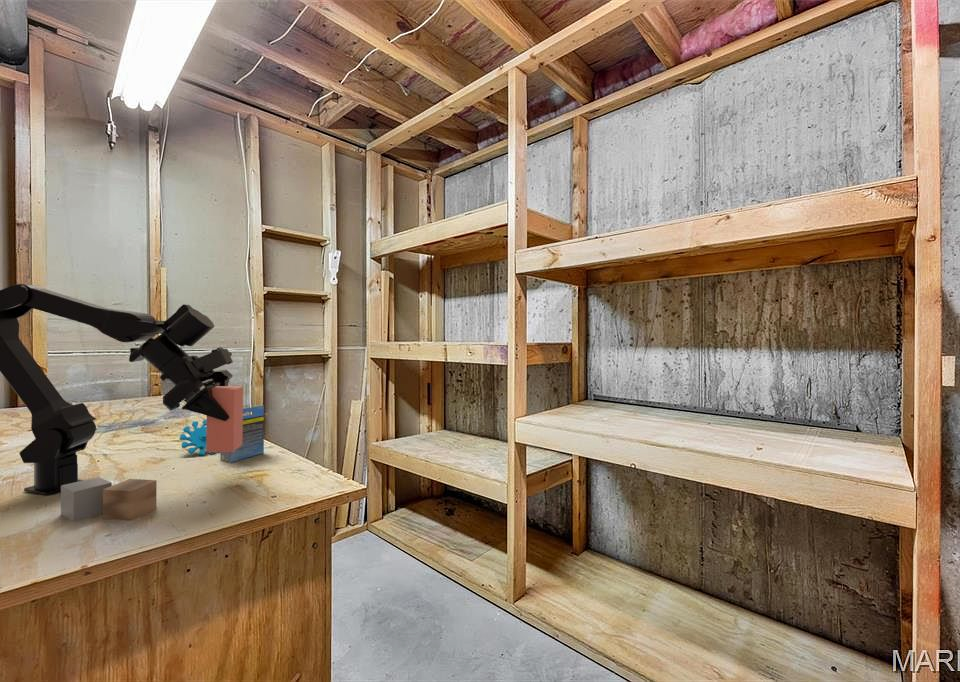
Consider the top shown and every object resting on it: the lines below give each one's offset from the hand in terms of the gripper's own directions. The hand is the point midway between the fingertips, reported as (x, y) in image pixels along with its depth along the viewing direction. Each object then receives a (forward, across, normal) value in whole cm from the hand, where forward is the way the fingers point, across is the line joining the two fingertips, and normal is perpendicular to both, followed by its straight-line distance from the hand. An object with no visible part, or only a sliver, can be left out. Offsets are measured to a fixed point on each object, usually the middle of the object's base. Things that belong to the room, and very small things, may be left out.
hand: (232, 416), depth 88 cm
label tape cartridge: (+7, +17, +12) cm, 22 cm away
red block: (+4, 0, +6) cm, 7 cm away
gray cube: (-3, -13, +23) cm, 26 cm away
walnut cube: (+2, -14, +18) cm, 22 cm away
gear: (0, +22, +19) cm, 29 cm away
